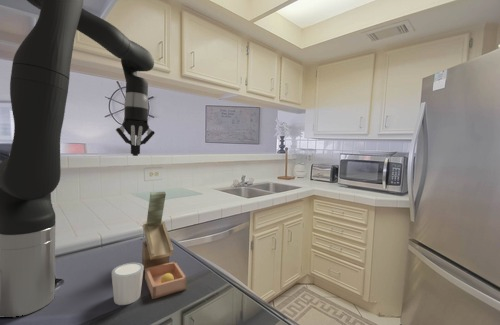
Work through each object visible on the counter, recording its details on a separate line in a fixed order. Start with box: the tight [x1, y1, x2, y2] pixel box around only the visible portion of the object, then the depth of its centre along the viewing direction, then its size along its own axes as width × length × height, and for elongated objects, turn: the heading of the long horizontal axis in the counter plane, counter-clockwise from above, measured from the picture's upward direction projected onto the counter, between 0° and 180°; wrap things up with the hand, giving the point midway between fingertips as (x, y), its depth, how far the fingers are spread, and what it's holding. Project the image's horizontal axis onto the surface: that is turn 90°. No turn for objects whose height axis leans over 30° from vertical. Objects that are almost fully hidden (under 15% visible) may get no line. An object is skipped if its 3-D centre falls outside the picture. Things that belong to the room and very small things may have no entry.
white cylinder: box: [111, 262, 144, 306], centre depth 55 cm, size 7×7×7 cm
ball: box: [161, 273, 174, 283], centre depth 59 cm, size 3×3×3 cm
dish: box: [144, 261, 188, 300], centre depth 61 cm, size 8×10×3 cm
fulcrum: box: [141, 240, 170, 272], centre depth 71 cm, size 7×4×8 cm, turn 124°
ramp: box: [142, 191, 174, 260], centre depth 68 cm, size 6×14×13 cm, turn 34°
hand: (135, 155), depth 83 cm, fingers closed
